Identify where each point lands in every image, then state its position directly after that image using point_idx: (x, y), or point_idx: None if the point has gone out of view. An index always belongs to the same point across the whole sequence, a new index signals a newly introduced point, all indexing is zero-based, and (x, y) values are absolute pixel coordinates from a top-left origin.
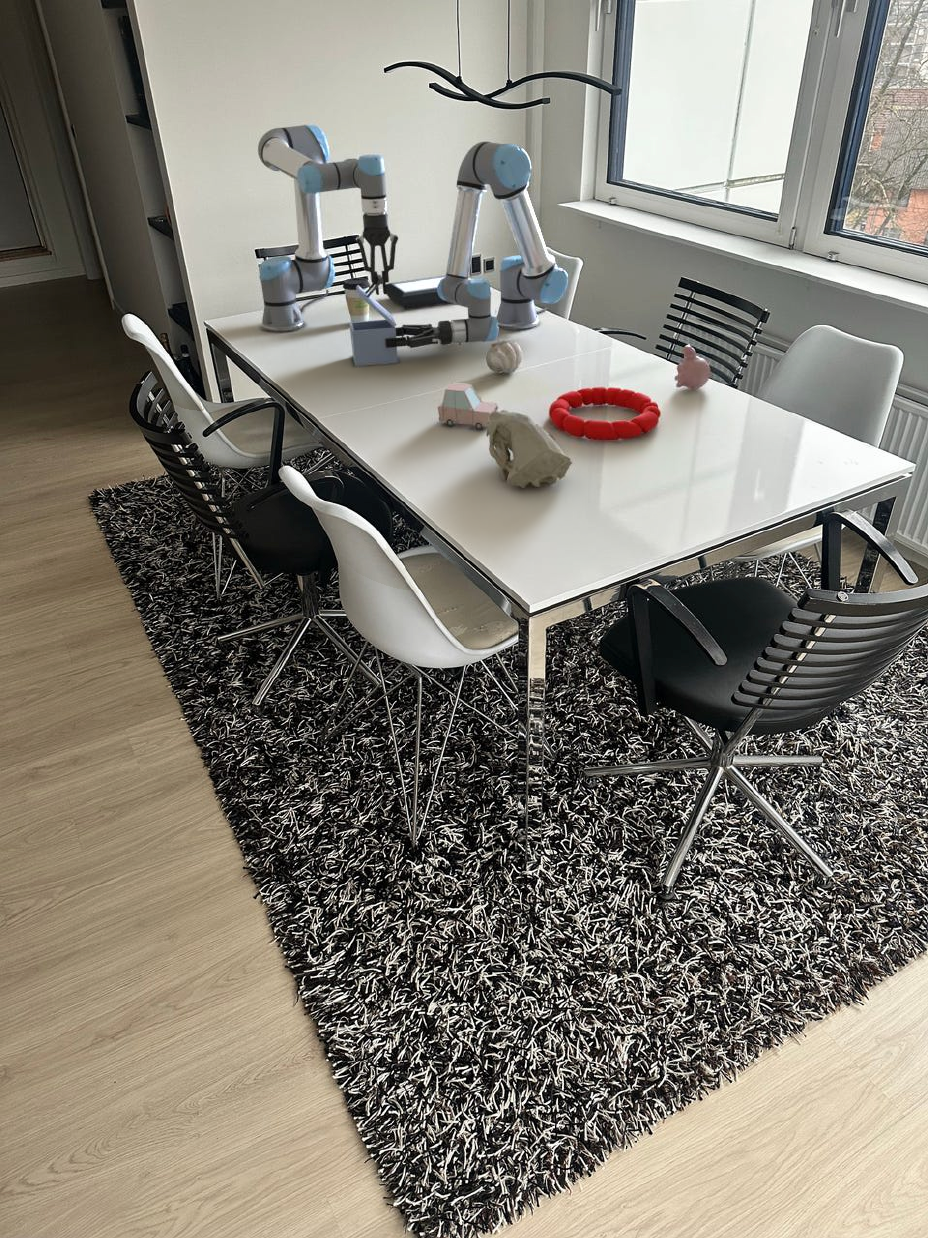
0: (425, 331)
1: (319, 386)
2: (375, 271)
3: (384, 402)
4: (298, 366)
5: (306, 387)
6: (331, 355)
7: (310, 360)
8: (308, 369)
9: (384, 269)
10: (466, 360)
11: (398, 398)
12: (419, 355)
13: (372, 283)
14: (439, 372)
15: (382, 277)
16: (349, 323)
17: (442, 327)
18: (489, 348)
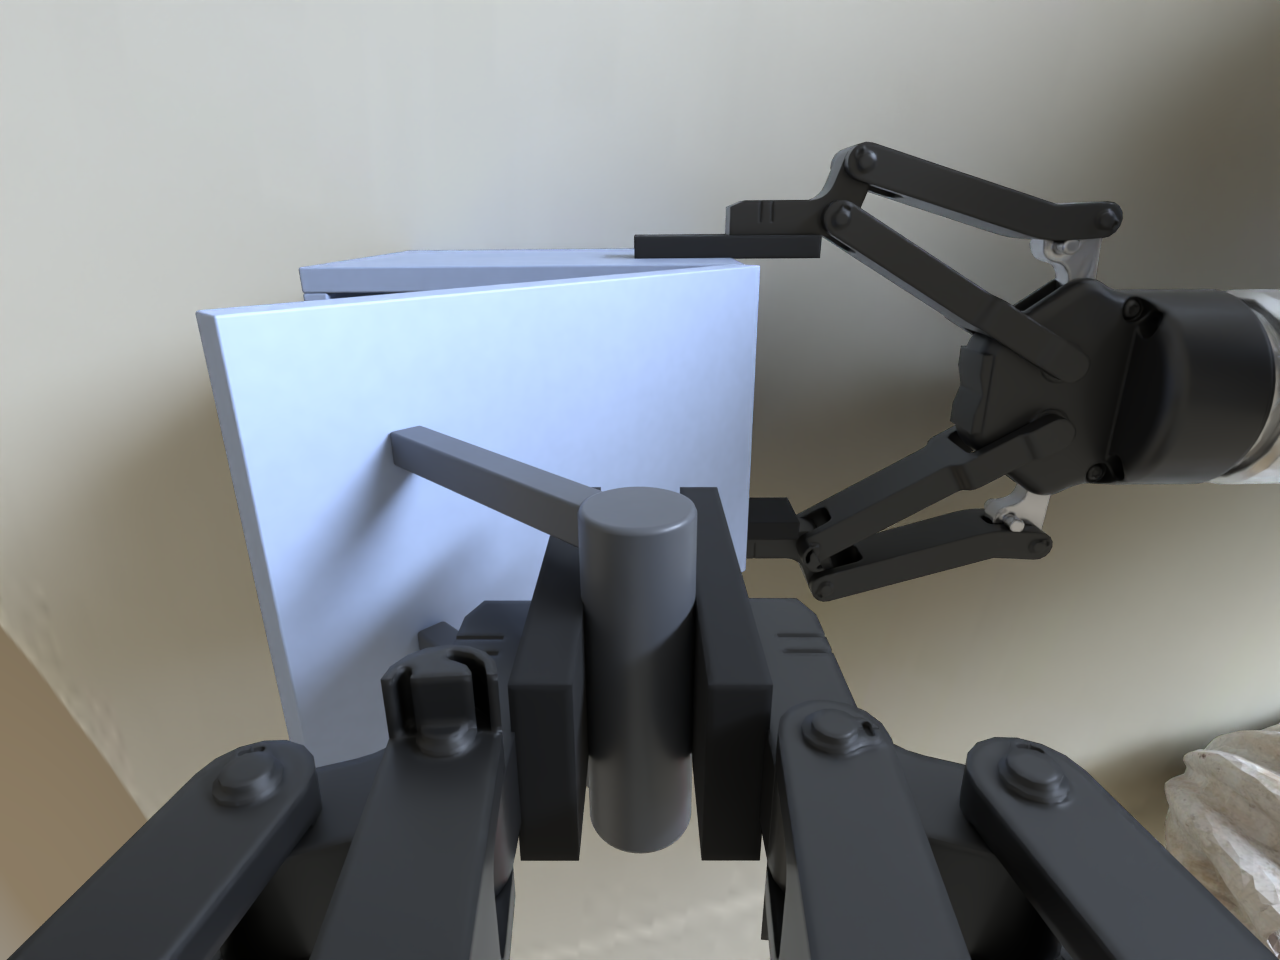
0: (987, 461)
1: (248, 713)
2: (542, 705)
3: (568, 941)
4: (48, 361)
5: (179, 710)
6: (246, 174)
7: (105, 253)
8: (131, 437)
9: (768, 916)
10: (1123, 528)
11: (633, 918)
12: (873, 354)
13: (499, 479)
14: (903, 674)
15: (694, 702)
16: (303, 278)
17: (1148, 477)
18: (1246, 899)
